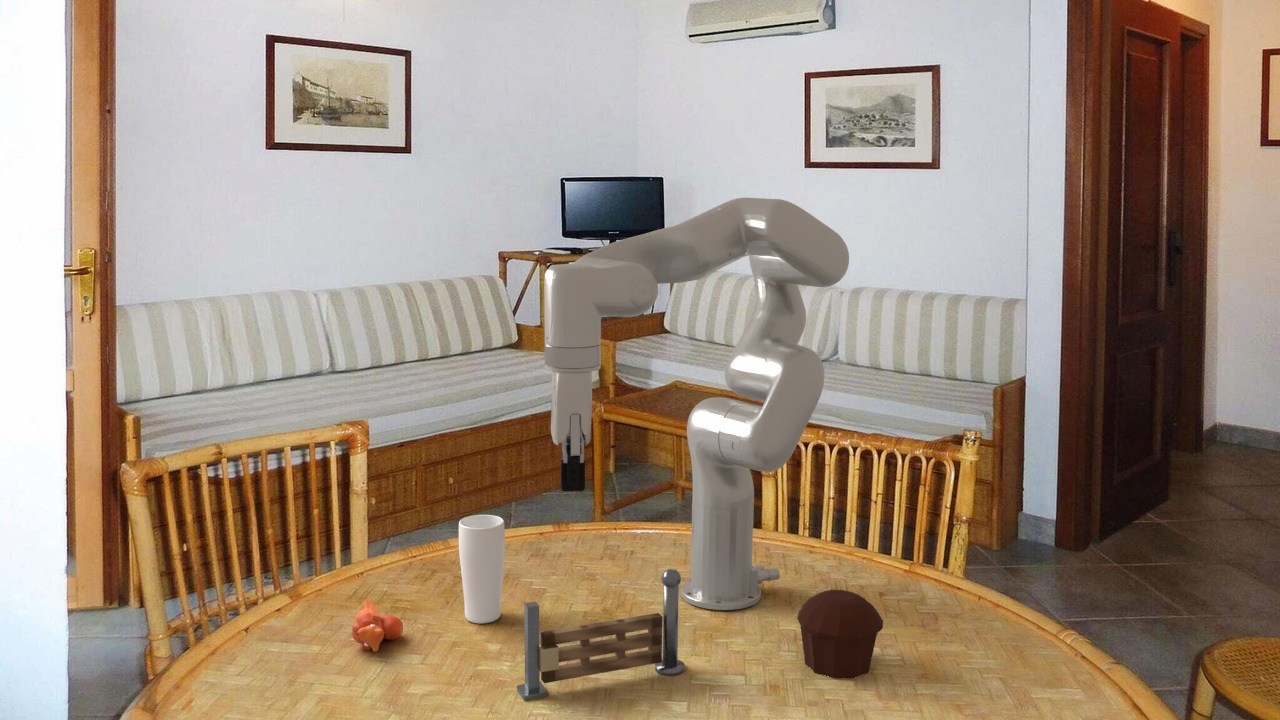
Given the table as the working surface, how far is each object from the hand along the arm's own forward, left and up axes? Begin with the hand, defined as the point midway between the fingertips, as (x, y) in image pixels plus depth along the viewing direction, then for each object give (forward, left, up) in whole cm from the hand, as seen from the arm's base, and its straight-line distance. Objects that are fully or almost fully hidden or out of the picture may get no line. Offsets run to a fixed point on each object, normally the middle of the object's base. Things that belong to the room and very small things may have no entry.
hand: (572, 489), depth 157 cm
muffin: (-32, +18, -23) cm, 44 cm away
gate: (0, +11, -22) cm, 24 cm away
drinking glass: (+9, -15, -23) cm, 29 cm away
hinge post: (-10, +11, -23) cm, 27 cm away
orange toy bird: (+25, -13, -23) cm, 36 cm away
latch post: (+9, +11, -23) cm, 27 cm away
